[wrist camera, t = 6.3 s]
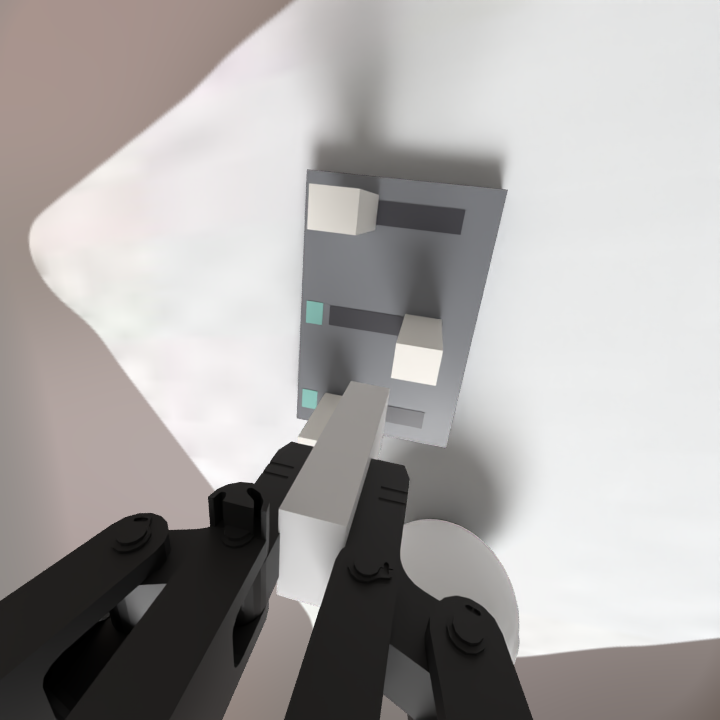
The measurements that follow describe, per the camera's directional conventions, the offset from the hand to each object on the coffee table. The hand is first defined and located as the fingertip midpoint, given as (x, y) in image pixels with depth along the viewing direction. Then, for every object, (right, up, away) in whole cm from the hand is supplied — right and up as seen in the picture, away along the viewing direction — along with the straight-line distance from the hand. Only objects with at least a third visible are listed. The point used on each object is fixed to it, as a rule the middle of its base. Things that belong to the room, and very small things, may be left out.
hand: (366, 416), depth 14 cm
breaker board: (+2, +5, +13) cm, 14 cm away
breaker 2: (0, +11, +8) cm, 14 cm away
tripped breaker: (+4, +4, +10) cm, 12 cm away
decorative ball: (+7, -15, +20) cm, 26 cm away
